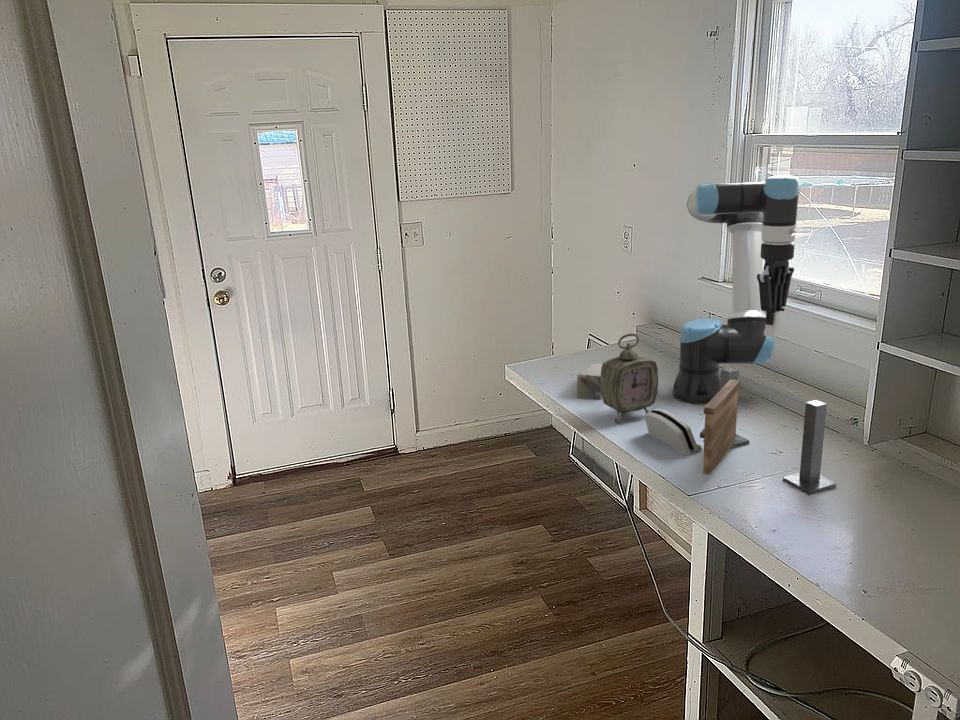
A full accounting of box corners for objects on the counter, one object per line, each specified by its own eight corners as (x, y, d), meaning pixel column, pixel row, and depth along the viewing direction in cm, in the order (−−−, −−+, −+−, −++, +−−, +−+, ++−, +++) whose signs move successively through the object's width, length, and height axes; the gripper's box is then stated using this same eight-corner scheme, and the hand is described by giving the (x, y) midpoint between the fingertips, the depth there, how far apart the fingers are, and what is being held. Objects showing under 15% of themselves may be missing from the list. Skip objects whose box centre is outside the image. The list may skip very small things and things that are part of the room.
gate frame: (727, 433, 201) (731, 362, 195) (836, 487, 170) (844, 405, 164) (703, 439, 198) (706, 368, 192) (809, 495, 167) (817, 412, 161)
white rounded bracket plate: (703, 451, 191) (694, 420, 187) (689, 460, 190) (679, 429, 186) (663, 429, 206) (653, 399, 202) (649, 437, 205) (639, 408, 200)
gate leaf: (736, 442, 192) (740, 380, 187) (711, 475, 175) (714, 409, 170) (724, 439, 193) (727, 378, 188) (697, 473, 177) (700, 406, 171)
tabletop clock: (615, 427, 209) (615, 341, 201) (597, 417, 216) (597, 334, 209) (657, 416, 214) (659, 333, 207) (638, 407, 222) (639, 326, 215)
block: (591, 379, 249) (591, 356, 246) (615, 381, 246) (616, 358, 243) (576, 398, 232) (576, 374, 230) (601, 401, 229) (602, 376, 227)
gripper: (777, 247, 173) (770, 345, 180) (806, 239, 180) (799, 333, 188) (748, 244, 179) (743, 339, 186) (778, 237, 186) (771, 328, 193)
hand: (771, 336), depth 187 cm, fingers closed
